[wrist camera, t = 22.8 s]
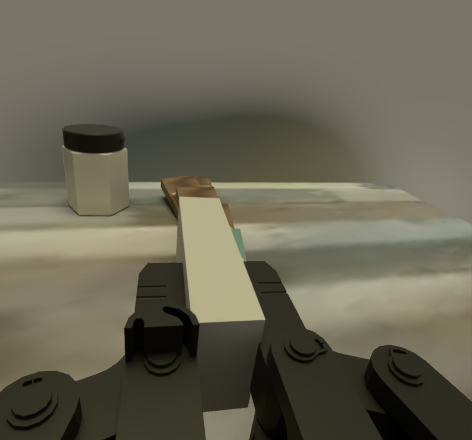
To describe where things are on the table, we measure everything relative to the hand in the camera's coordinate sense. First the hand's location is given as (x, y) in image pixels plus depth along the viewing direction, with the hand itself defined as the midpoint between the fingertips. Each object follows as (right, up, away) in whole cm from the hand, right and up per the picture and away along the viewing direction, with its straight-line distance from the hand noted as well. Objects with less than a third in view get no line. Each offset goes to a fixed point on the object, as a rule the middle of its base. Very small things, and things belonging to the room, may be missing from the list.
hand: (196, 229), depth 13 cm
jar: (-20, +2, +39) cm, 44 cm away
